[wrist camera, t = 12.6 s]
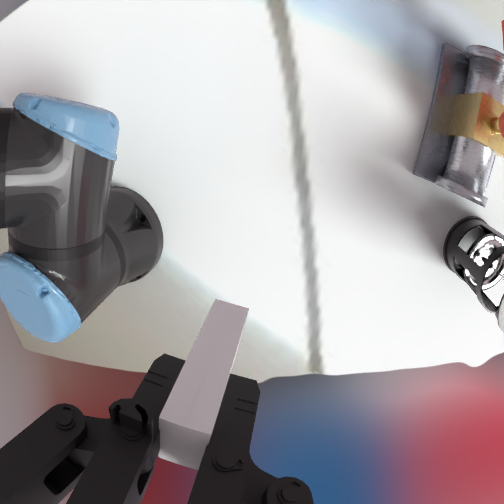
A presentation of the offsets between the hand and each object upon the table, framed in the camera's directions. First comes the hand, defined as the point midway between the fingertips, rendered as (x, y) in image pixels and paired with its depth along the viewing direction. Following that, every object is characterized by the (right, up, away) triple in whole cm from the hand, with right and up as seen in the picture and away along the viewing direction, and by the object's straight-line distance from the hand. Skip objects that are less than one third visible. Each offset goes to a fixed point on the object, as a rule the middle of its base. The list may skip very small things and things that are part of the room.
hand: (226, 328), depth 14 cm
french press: (+34, +4, +25) cm, 43 cm away
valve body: (+31, +21, +18) cm, 41 cm away
